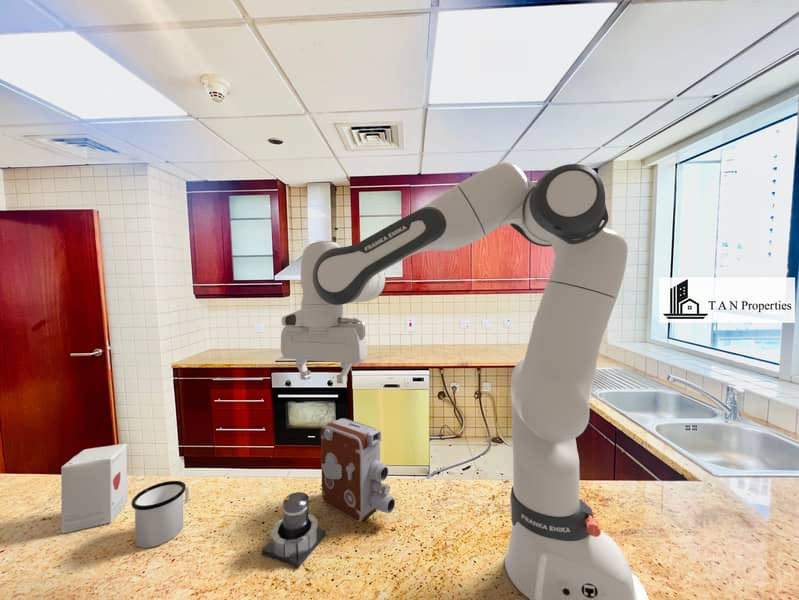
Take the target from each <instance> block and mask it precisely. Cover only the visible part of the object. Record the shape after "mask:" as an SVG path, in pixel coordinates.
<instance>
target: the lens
mask: <svg viewBox="0 0 799 600" xmlns="http://www.w3.org/2000/svg"><path fill="white" fill-rule="evenodd" d="M309 508H310V501H309V495H308V494H307V493H305V492H302V491H301V492H299V491H298V492H293V493H290V494H288V495H287V496H285V498H284V499H283V502H282V516H283V517H282V519H283V539H285V540H292V539H297V538H300V537H302V536H304V535H305V534H306V533H307V532H308V514H309Z"/></svg>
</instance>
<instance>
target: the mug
mask: <svg viewBox="0 0 799 600" xmlns="http://www.w3.org/2000/svg"><path fill="white" fill-rule="evenodd" d="M189 489H190V488H189V485H186V483H185V482H183V481H179V480H166V481H164V482H163V481H162V482H159V483H156V484H153V485H151V486H149V487H147V488H145V489H143V490H142V491H140V492H139V493H137V494H136V495H135V496H134V497H133V498H132V500H131V506H130V507H131V508H133V509H134V515H135V516H134V521H135V522H134V525H135V526H134V530H135V532H134V536H135V537H134V538H135V541H134V542H135V545H136V547H138V548H143V549H147V548H149V549H150V548H155V547H157V546H158V547H159V546H161V545H163V544H165V543H167V542H169V541H171V540H172V539H174V537H176V536H177V535H178V534H180V533H181V531H182V530H183V528H184V508H186V506H187V505H188V503H189V500H190V499H189V498H190V493H189V492H190V490H189ZM184 494H185V495H184ZM184 499H185V501H184Z"/></svg>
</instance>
